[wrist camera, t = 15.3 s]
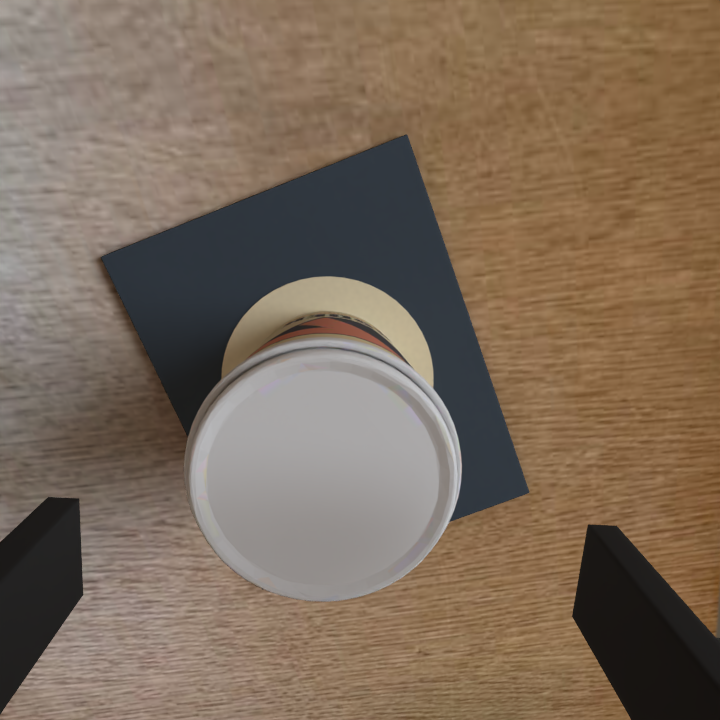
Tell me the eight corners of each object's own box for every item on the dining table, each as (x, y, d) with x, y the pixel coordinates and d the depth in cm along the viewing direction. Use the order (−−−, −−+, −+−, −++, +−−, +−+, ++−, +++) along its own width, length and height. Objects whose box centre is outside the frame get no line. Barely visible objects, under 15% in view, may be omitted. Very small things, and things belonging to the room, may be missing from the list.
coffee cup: (438, 316, 30) (501, 380, 19) (393, 482, 32) (425, 632, 21) (257, 274, 30) (205, 313, 18) (223, 447, 32) (156, 583, 20)
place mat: (527, 489, 33) (530, 493, 33) (263, 585, 34) (262, 591, 34) (406, 135, 29) (407, 133, 28) (103, 256, 30) (99, 257, 29)
